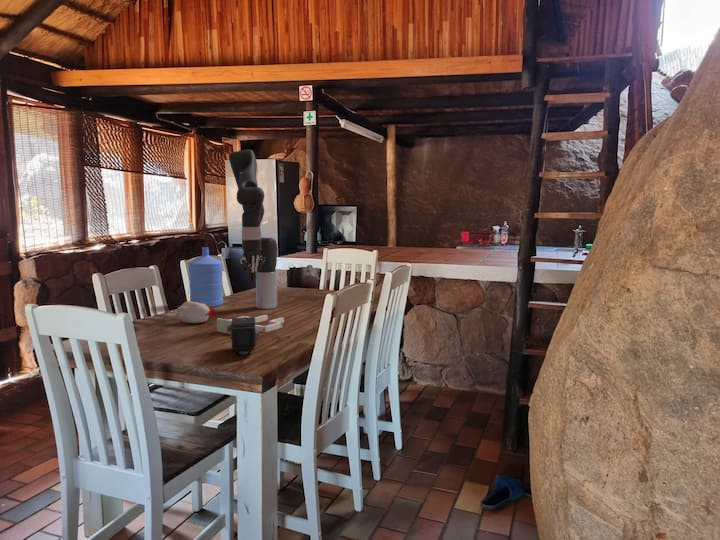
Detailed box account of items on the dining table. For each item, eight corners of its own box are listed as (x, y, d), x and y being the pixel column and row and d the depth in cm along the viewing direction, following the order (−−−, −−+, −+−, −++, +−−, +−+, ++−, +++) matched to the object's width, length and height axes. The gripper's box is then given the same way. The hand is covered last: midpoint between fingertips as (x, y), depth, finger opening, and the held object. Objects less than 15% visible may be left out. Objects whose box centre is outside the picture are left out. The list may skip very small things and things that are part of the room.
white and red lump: (174, 322, 222) (202, 320, 235) (193, 325, 216) (221, 323, 229) (175, 300, 222) (203, 299, 235) (195, 303, 216) (222, 302, 229)
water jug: (214, 308, 255) (212, 249, 252) (183, 306, 259) (182, 248, 255) (228, 302, 271) (227, 246, 267) (199, 301, 274) (198, 245, 270)
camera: (227, 350, 188) (227, 357, 173) (226, 317, 187) (226, 322, 173) (258, 348, 190) (261, 355, 175) (258, 315, 190) (260, 320, 175)
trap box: (256, 317, 235) (256, 306, 235) (294, 324, 223) (294, 312, 223) (207, 329, 213) (207, 316, 213) (246, 337, 201) (246, 324, 201)
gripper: (256, 236, 222) (257, 278, 224) (232, 238, 211) (233, 282, 213) (270, 237, 217) (270, 280, 220) (246, 239, 206) (247, 284, 209)
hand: (252, 281), depth 216 cm, fingers closed
